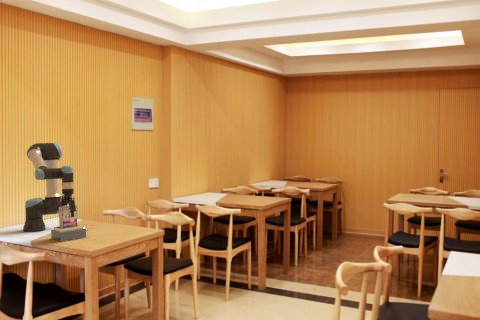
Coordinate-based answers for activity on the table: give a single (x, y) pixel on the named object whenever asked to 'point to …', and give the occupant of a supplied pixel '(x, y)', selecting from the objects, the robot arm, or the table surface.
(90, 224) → the table surface
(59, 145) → the robot arm
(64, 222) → the candy bar box
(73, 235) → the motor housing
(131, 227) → the table surface
